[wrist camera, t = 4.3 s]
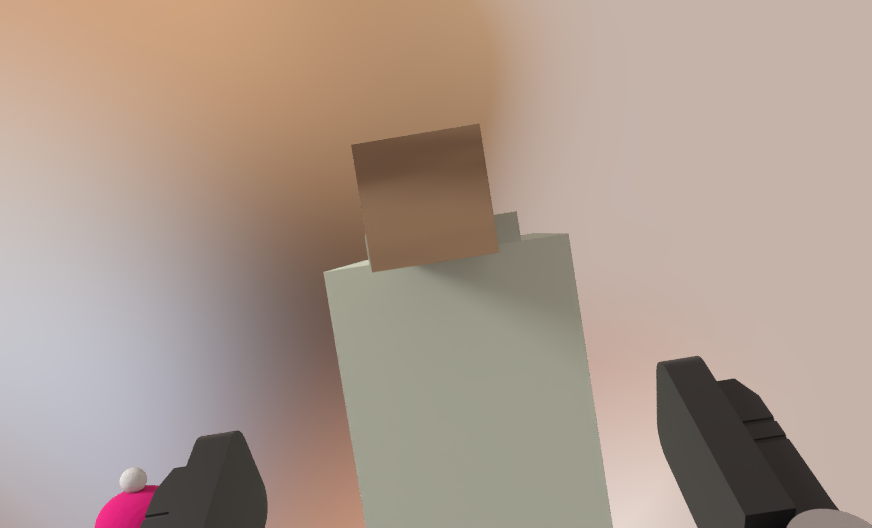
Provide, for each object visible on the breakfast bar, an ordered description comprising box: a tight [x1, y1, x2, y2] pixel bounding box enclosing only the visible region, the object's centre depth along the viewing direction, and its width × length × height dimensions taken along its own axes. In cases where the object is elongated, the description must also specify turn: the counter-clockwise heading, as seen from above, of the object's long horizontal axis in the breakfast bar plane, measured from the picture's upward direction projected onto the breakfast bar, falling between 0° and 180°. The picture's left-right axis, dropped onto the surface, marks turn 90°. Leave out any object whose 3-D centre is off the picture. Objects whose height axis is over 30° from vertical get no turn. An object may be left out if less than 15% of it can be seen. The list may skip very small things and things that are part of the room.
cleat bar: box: [351, 124, 499, 273], centre depth 30 cm, size 23×4×4 cm, turn 178°
